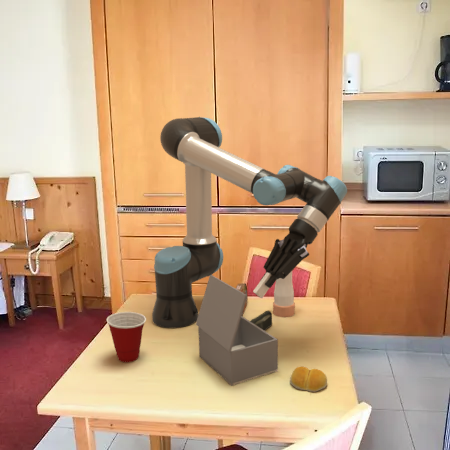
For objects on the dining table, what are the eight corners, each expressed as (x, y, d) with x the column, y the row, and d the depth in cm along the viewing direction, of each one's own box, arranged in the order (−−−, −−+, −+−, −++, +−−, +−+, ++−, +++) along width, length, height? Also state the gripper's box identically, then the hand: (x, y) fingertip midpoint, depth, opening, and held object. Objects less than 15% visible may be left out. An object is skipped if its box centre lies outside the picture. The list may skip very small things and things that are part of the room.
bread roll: (323, 395, 124) (324, 380, 123) (287, 389, 127) (287, 374, 126) (329, 378, 131) (330, 364, 130) (295, 373, 134) (295, 359, 134)
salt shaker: (269, 314, 172) (268, 259, 168) (279, 307, 178) (279, 253, 174) (288, 318, 168) (288, 262, 164) (298, 311, 174) (299, 256, 169)
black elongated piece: (265, 308, 165) (242, 325, 152) (273, 310, 164) (252, 326, 151) (265, 323, 166) (243, 340, 153) (273, 325, 165) (252, 342, 152)
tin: (241, 319, 169) (240, 295, 167) (231, 318, 169) (231, 294, 168) (248, 302, 183) (248, 279, 181) (239, 302, 184) (239, 279, 182)
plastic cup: (149, 364, 140) (146, 323, 138) (108, 369, 139) (105, 327, 136) (148, 347, 151) (145, 308, 148) (110, 350, 149) (107, 311, 146)
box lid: (197, 324, 142) (195, 324, 142) (212, 275, 141) (210, 274, 141) (231, 351, 126) (228, 351, 126) (247, 295, 126) (245, 295, 125)
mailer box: (199, 356, 144) (198, 326, 142) (242, 344, 151) (241, 316, 149) (231, 385, 129) (230, 352, 127) (277, 371, 135) (277, 339, 133)
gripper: (330, 238, 138) (279, 310, 134) (300, 229, 149) (252, 295, 145) (315, 221, 135) (262, 294, 130) (285, 213, 146) (236, 280, 141)
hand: (257, 295), depth 138 cm, fingers closed
